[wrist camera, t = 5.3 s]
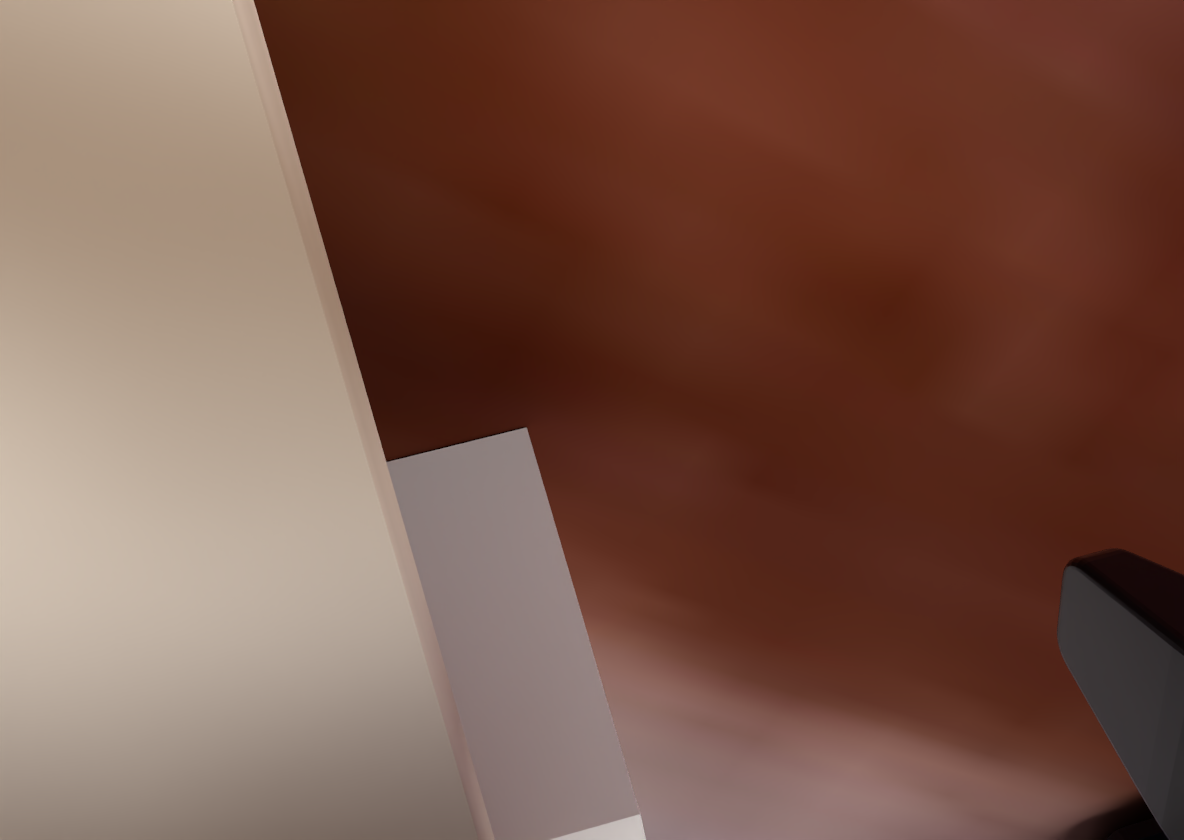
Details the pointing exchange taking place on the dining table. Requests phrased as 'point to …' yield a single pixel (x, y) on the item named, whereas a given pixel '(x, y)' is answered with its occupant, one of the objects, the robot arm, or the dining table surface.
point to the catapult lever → (193, 465)
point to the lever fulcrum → (515, 642)
